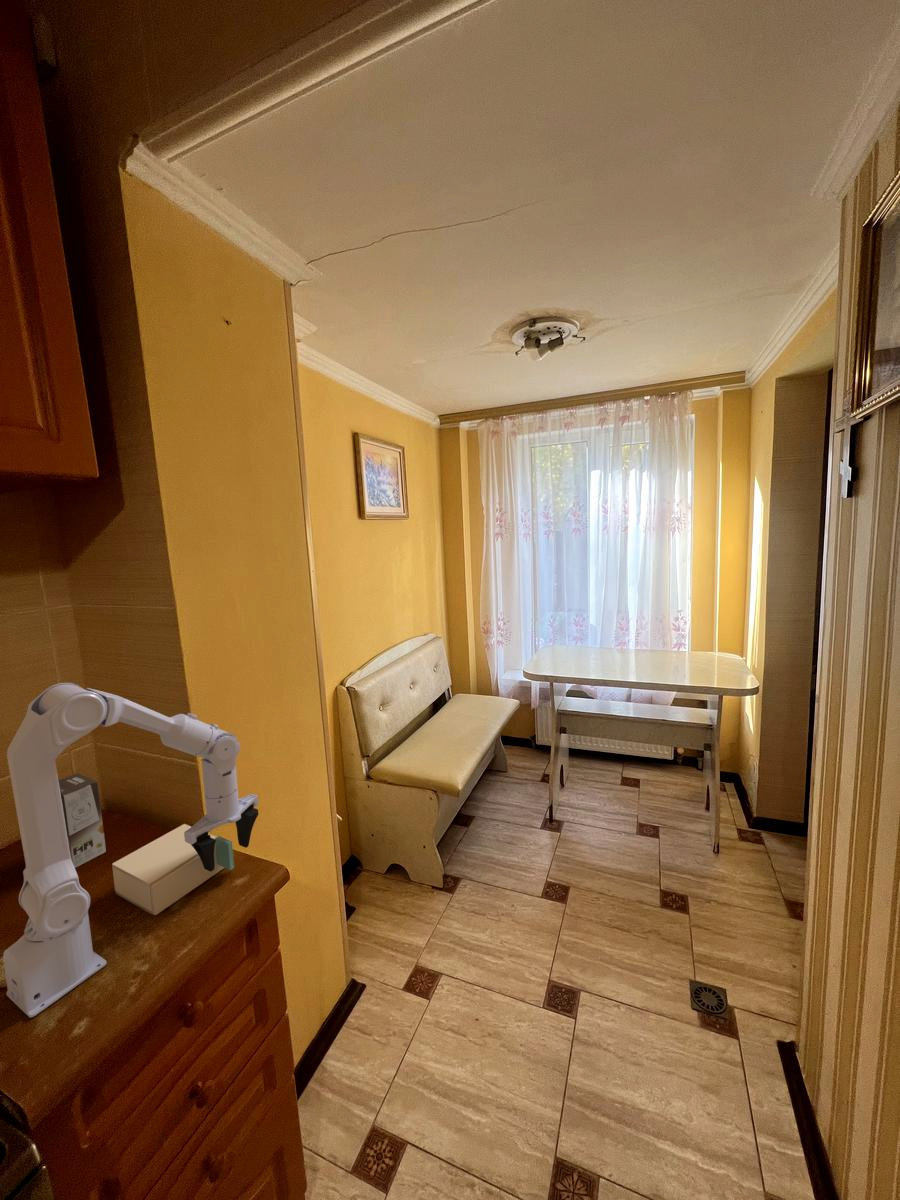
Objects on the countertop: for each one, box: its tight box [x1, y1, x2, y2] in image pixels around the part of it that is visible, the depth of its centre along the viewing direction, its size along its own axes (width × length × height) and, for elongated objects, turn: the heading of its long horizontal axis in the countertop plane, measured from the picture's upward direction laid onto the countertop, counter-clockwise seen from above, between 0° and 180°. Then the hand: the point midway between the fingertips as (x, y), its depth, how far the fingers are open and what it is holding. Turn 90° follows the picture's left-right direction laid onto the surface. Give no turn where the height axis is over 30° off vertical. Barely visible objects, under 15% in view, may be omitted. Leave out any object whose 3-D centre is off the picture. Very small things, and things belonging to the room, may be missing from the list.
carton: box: [111, 823, 217, 916], centre depth 90 cm, size 14×12×6 cm
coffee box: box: [58, 772, 107, 869], centre depth 98 cm, size 9×6×16 cm
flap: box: [150, 835, 235, 916], centre depth 86 cm, size 14×5×7 cm, turn 152°
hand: (227, 856), depth 91 cm, fingers open, 7 cm apart
